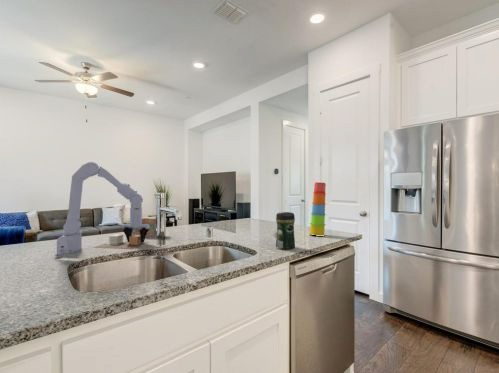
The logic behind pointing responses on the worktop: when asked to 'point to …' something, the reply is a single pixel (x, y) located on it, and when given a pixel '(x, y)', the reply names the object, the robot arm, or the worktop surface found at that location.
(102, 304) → the worktop surface
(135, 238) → the terracotta brick
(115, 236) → the cream brick
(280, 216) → the coffee jar
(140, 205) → the robot arm
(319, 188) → the stacking cups
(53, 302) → the worktop surface
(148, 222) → the stack of blocks
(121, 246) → the build board
